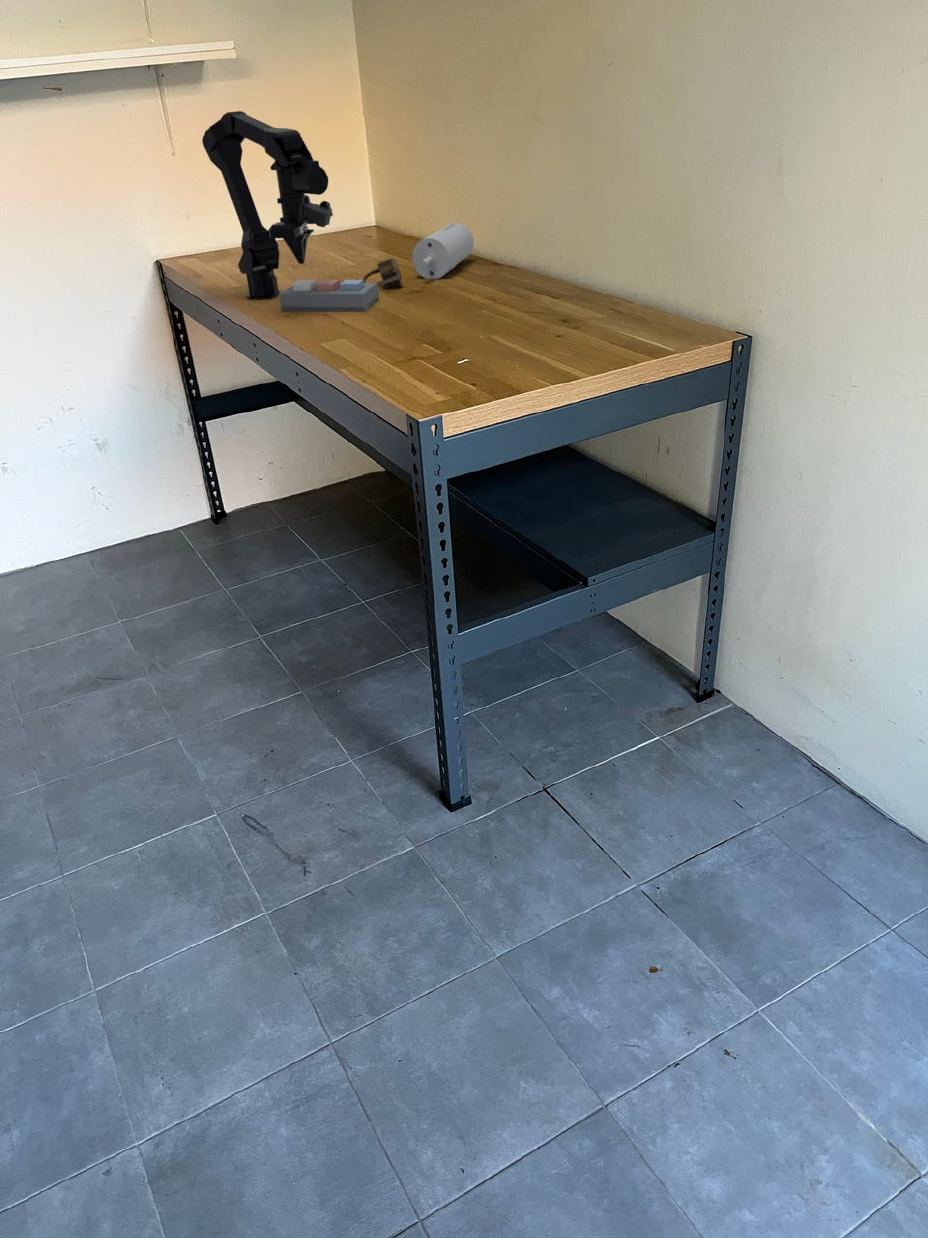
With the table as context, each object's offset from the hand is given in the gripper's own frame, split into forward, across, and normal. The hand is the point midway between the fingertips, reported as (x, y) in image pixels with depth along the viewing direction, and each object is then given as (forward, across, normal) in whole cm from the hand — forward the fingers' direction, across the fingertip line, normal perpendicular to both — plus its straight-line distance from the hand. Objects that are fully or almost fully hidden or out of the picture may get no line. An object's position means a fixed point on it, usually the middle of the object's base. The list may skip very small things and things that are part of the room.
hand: (301, 263), depth 222 cm
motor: (+10, +39, -25) cm, 47 cm away
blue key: (+7, 0, -12) cm, 14 cm away
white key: (+7, 0, 0) cm, 7 cm away
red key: (+7, 0, -6) cm, 9 cm away
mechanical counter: (+10, +19, -13) cm, 25 cm away
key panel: (+10, 0, -6) cm, 11 cm away
